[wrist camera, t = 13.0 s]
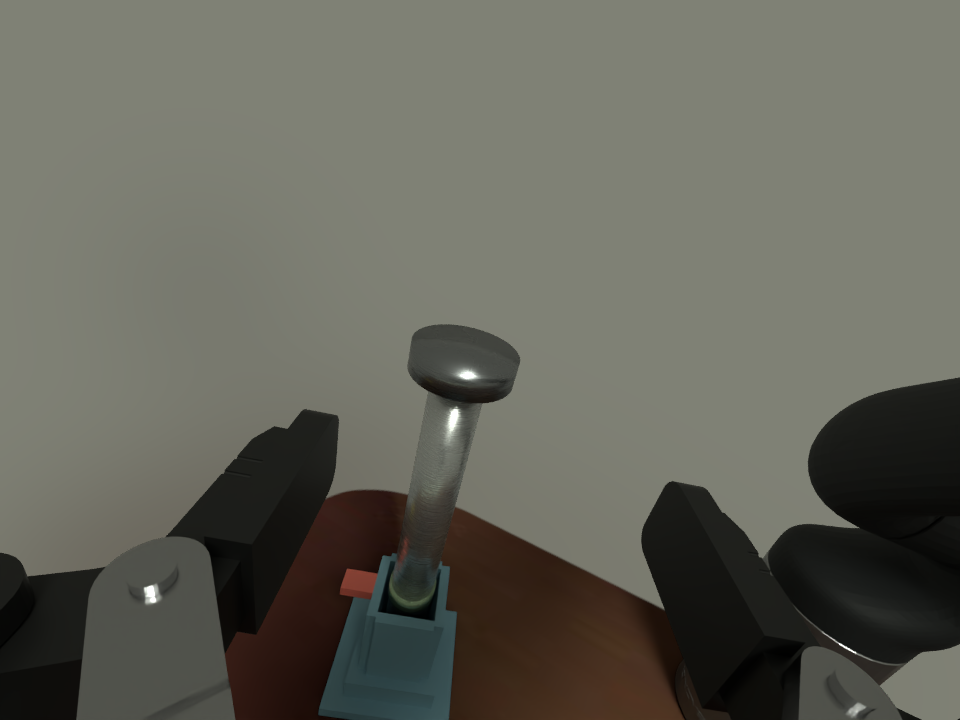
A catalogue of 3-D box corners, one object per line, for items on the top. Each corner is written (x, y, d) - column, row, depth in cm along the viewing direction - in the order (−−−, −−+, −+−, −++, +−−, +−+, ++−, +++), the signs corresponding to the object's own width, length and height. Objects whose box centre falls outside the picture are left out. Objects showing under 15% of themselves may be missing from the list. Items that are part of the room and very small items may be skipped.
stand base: (455, 618, 40) (476, 550, 36) (445, 733, 32) (472, 663, 28) (351, 601, 40) (360, 529, 35) (315, 714, 32) (322, 640, 27)
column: (445, 586, 36) (516, 337, 25) (437, 662, 31) (523, 386, 20) (377, 575, 36) (421, 316, 25) (357, 649, 30) (401, 360, 20)
